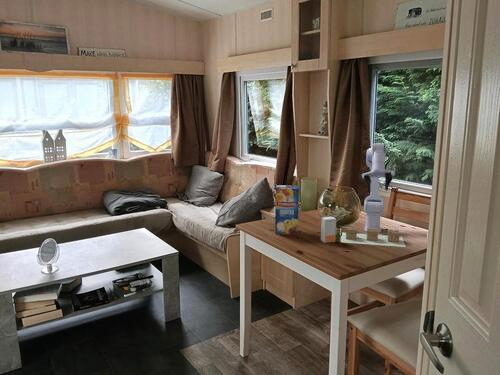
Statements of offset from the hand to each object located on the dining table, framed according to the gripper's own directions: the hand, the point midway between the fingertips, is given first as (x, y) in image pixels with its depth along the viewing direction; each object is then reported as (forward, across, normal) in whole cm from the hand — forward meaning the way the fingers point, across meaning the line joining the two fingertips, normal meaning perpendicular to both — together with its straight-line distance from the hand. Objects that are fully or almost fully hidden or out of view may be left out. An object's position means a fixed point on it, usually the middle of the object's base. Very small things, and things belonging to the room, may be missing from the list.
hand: (377, 190), depth 199 cm
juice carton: (+12, -50, +15) cm, 54 cm away
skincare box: (+19, -26, +14) cm, 35 cm away
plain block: (+14, -8, +24) cm, 29 cm away
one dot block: (+14, +2, +27) cm, 30 cm away
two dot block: (+14, -17, +21) cm, 31 cm away
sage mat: (+14, -8, +24) cm, 29 cm away
